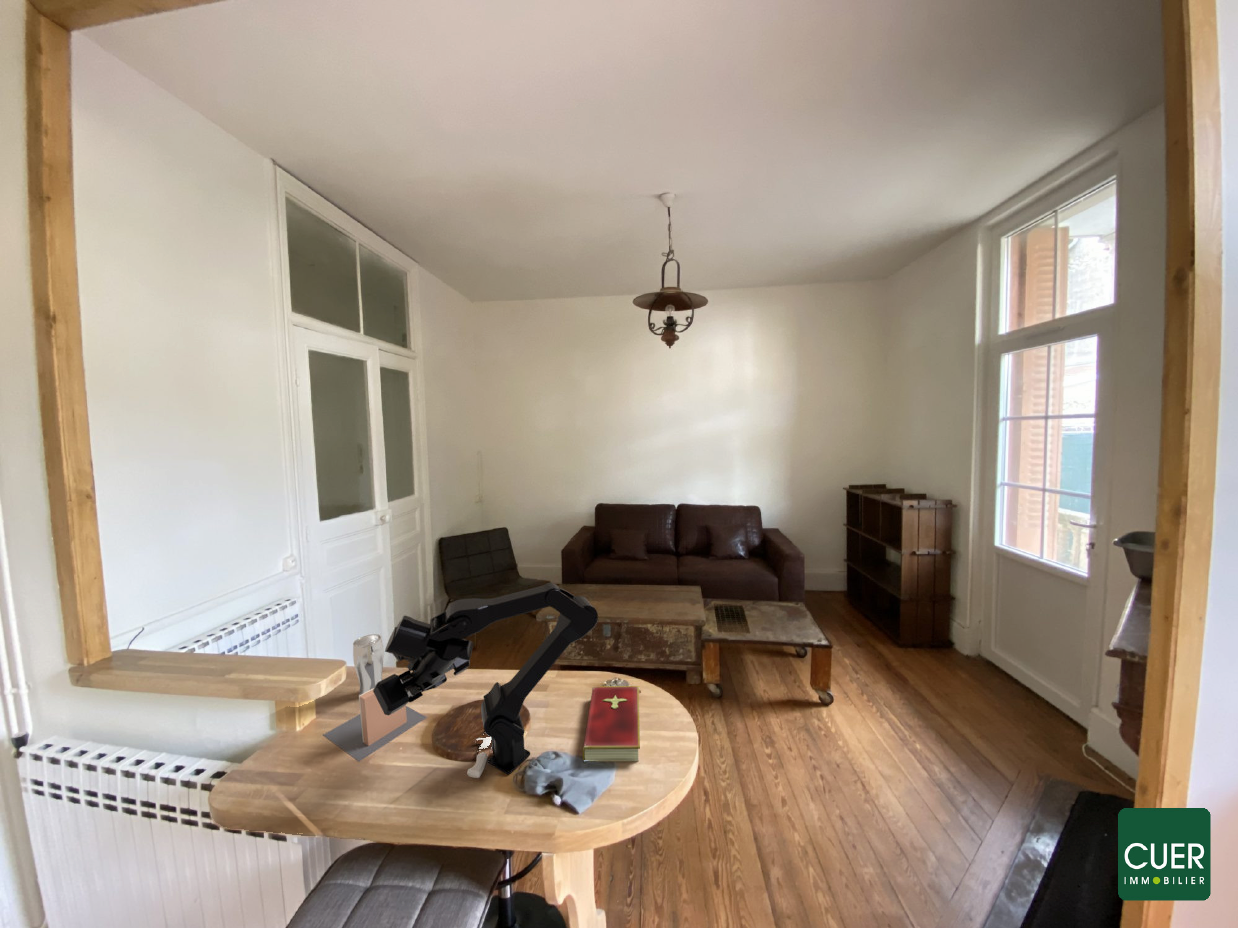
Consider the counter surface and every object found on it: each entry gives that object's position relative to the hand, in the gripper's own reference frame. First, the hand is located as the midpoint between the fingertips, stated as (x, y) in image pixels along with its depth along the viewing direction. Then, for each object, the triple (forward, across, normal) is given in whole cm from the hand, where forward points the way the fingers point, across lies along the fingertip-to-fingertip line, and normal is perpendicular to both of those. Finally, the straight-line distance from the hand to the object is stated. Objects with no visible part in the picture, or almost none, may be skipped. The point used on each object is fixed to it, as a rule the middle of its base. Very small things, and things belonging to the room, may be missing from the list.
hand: (410, 693), depth 94 cm
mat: (+21, 0, -2) cm, 21 cm away
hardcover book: (-14, -28, +34) cm, 46 cm away
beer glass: (+31, -7, -12) cm, 34 cm away
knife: (+5, -13, +15) cm, 20 cm away
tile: (+17, 0, +1) cm, 17 cm away
